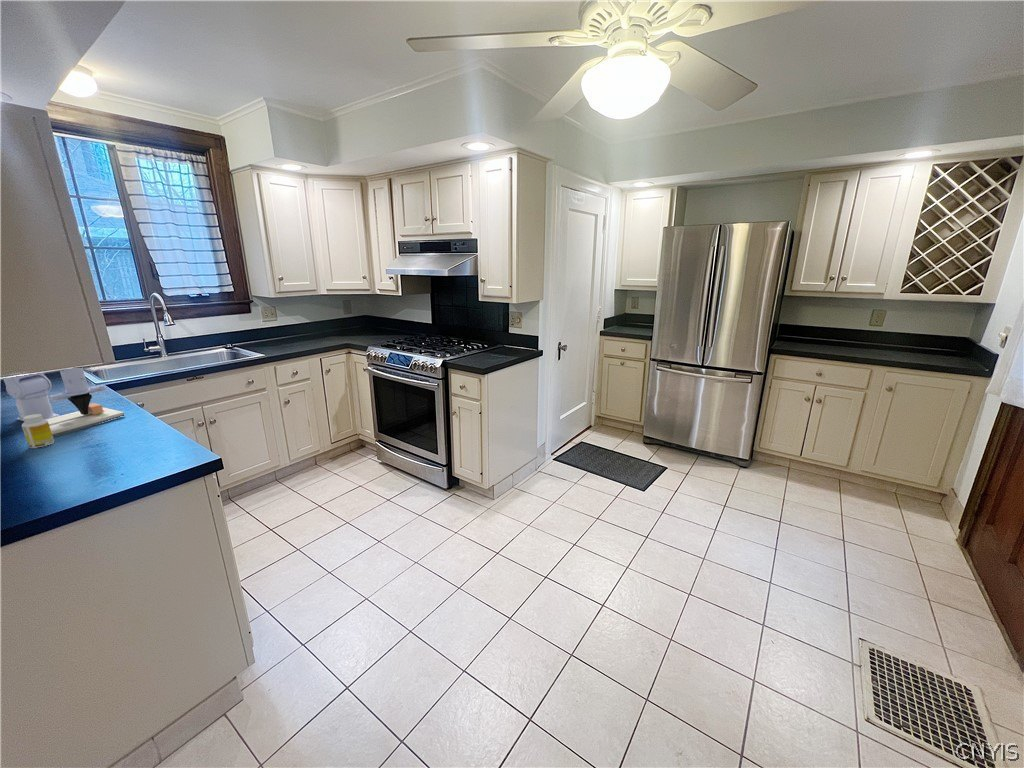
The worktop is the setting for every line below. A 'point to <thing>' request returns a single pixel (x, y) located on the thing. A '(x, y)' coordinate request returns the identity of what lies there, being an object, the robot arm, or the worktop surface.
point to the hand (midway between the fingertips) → (84, 414)
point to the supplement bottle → (37, 431)
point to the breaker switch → (95, 409)
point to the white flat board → (80, 421)
